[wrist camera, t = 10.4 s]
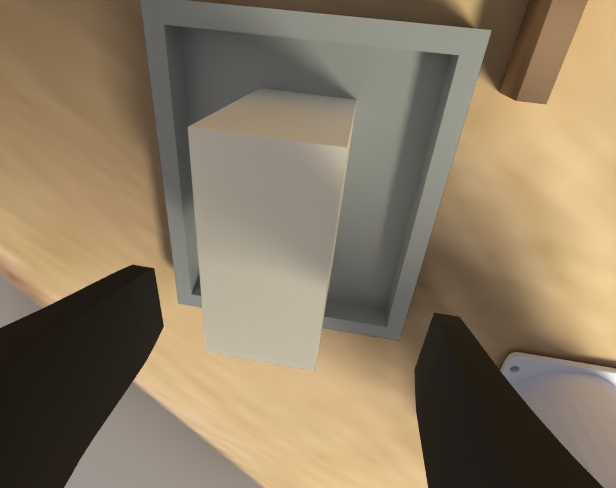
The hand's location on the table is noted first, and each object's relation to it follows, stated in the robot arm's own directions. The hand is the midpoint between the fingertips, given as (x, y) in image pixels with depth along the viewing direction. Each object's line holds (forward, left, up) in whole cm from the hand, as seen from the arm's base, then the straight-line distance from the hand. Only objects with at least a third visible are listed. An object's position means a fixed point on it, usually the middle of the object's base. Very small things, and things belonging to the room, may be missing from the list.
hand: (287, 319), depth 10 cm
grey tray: (0, +1, -9) cm, 9 cm away
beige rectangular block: (0, +1, -9) cm, 9 cm away
